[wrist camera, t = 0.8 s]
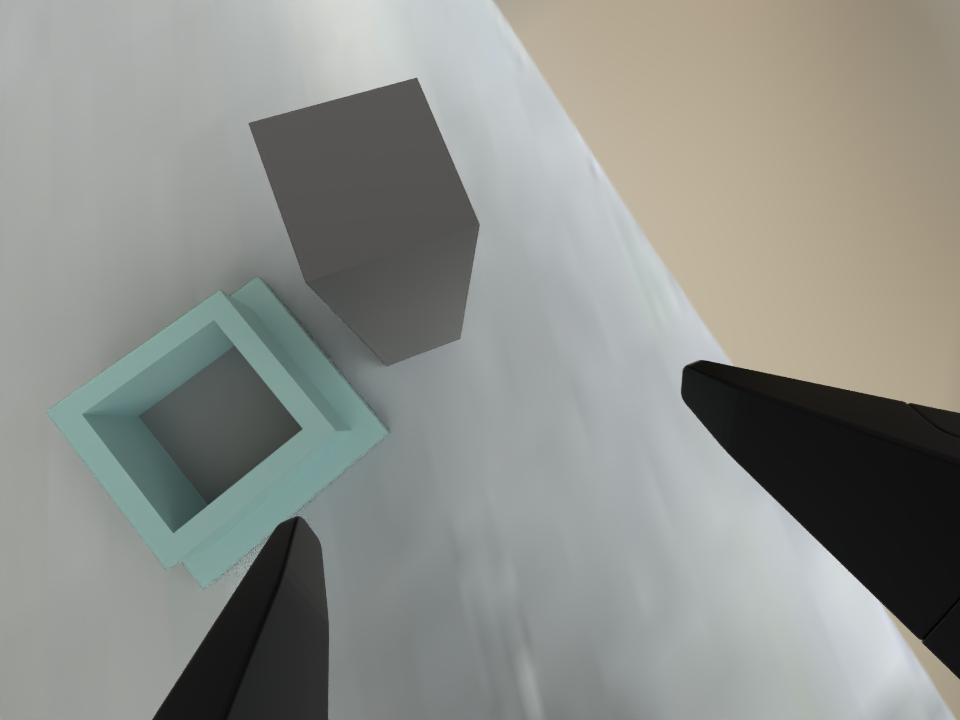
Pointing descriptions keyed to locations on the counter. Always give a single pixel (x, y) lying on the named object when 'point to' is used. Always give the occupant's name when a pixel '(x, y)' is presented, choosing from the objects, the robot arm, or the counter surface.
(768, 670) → the counter surface
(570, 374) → the counter surface
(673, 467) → the counter surface
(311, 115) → the plug
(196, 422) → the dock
